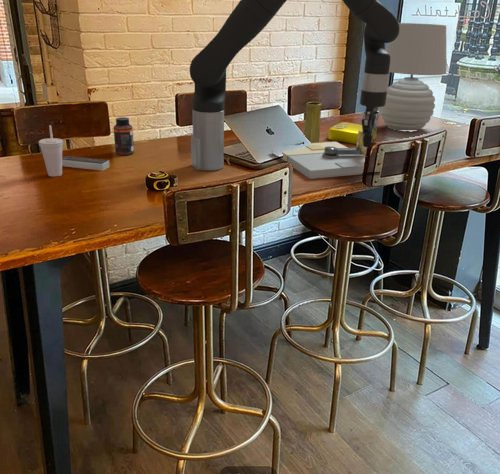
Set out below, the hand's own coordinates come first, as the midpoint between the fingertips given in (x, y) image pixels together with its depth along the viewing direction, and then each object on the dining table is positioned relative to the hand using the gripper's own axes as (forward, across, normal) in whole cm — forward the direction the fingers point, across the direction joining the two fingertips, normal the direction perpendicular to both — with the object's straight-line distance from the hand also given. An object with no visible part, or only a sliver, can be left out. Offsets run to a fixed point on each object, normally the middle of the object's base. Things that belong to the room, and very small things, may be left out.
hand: (367, 146), depth 161 cm
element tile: (+7, +35, +13) cm, 38 cm away
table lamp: (+7, +61, -1) cm, 62 cm away
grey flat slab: (+7, -2, +13) cm, 14 cm away
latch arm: (+3, 0, +7) cm, 7 cm away
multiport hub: (+7, -43, +74) cm, 86 cm away
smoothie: (+7, -53, +76) cm, 93 cm away
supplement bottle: (+6, -26, +73) cm, 77 cm away
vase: (+7, +19, +24) cm, 32 cm away
